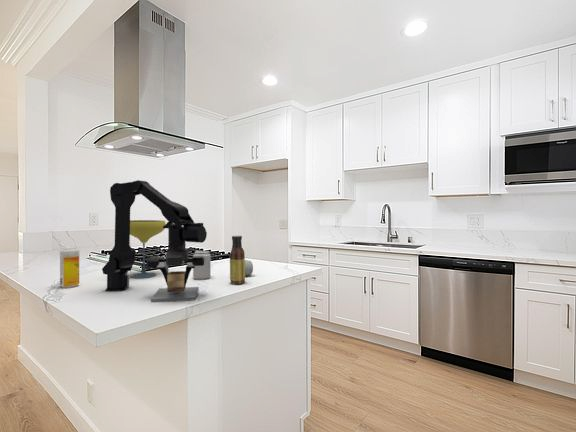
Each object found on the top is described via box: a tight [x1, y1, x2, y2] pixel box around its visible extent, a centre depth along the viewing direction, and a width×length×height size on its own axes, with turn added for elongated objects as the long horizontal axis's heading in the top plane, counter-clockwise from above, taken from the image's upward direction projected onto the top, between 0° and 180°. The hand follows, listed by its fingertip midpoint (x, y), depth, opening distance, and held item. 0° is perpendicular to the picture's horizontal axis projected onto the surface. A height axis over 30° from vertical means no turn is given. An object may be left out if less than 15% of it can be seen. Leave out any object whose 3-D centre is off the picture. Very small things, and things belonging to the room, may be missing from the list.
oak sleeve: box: [166, 270, 187, 292], centre depth 108 cm, size 5×5×6 cm
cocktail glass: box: [129, 219, 166, 279], centre depth 139 cm, size 18×18×25 cm
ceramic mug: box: [245, 259, 254, 277], centre depth 143 cm, size 11×8×8 cm
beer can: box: [59, 246, 80, 289], centre depth 119 cm, size 6×6×15 cm
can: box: [192, 250, 212, 281], centre depth 136 cm, size 8×8×12 cm
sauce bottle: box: [229, 234, 246, 285], centre depth 127 cm, size 6×6×20 cm
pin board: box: [150, 286, 200, 303], centre depth 108 cm, size 14×14×6 cm
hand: (176, 285), depth 108 cm, fingers closed on oak sleeve, 5 cm apart
